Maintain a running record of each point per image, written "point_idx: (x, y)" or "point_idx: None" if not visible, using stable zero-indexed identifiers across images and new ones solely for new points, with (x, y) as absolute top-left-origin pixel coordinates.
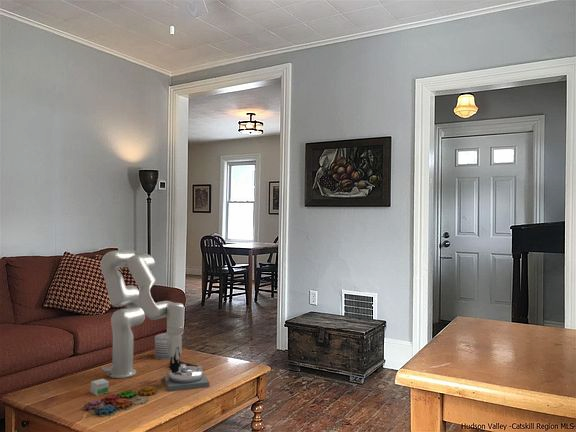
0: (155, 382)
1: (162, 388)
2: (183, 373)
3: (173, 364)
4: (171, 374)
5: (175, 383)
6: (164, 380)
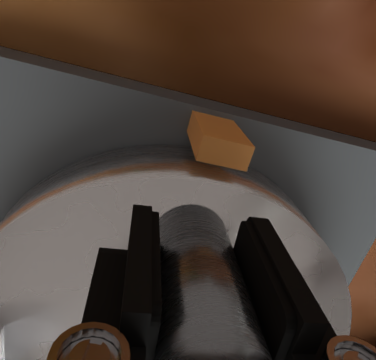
0: (341, 22)
1: (101, 13)
2: (79, 313)
3: (118, 318)
4: (125, 179)
5: (33, 159)
6: (328, 130)
